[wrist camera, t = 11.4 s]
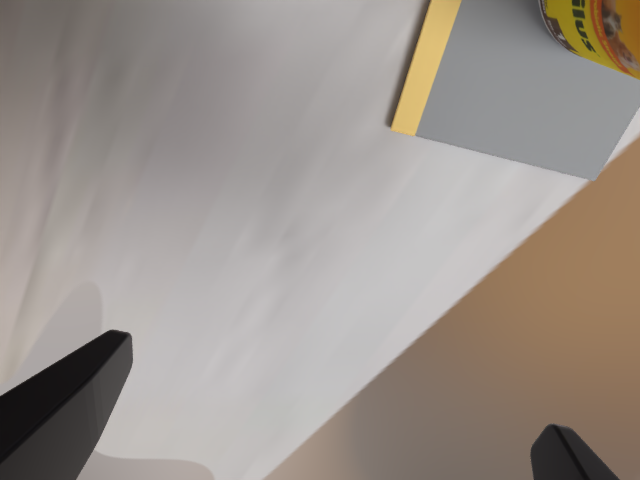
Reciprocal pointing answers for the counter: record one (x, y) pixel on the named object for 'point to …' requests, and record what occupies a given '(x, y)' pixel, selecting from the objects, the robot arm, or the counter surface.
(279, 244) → the counter surface
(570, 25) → the supplement bottle
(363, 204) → the counter surface
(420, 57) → the mat
